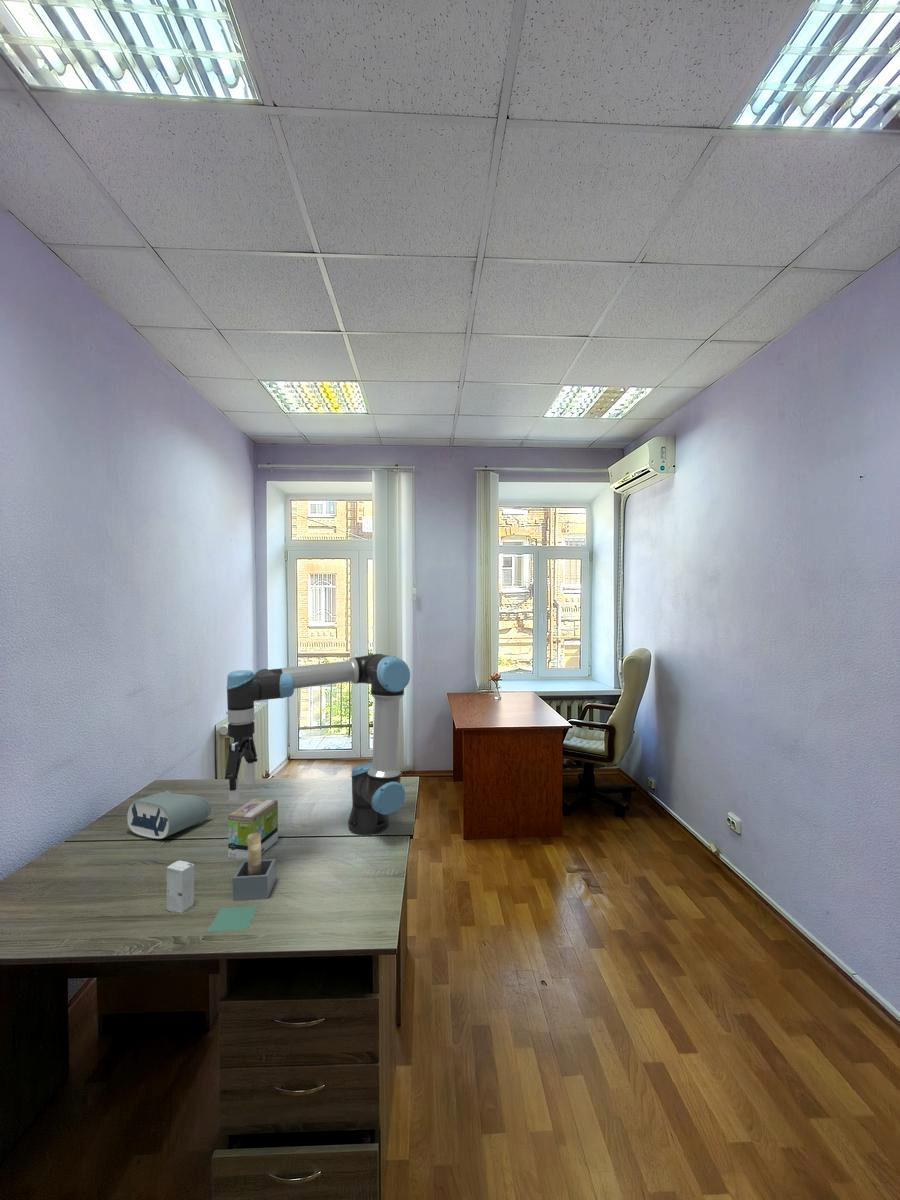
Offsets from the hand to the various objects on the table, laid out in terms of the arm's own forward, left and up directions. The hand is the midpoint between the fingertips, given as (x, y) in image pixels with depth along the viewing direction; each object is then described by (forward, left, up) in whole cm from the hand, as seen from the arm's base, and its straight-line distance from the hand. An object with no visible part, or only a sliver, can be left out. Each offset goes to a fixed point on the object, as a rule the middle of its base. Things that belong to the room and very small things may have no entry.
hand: (242, 791), depth 158 cm
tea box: (+3, -20, -27) cm, 34 cm away
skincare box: (+13, +13, -27) cm, 33 cm away
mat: (-3, +20, -27) cm, 34 cm away
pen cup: (-5, +7, -27) cm, 28 cm away
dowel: (-5, +7, -27) cm, 28 cm away
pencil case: (+39, -41, -28) cm, 63 cm away
